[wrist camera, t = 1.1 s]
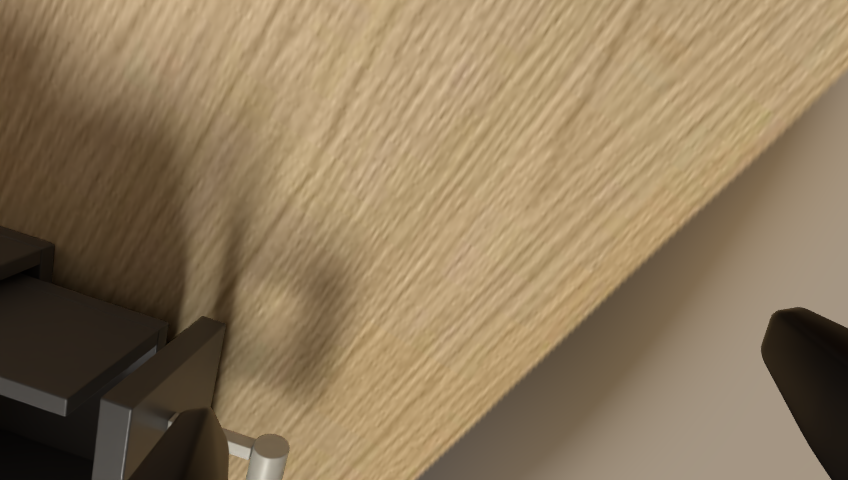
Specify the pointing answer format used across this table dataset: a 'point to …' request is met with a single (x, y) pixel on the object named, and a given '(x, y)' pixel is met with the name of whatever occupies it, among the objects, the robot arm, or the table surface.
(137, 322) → the pull-out drawer
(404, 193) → the table surface
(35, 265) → the drawer cabinet
